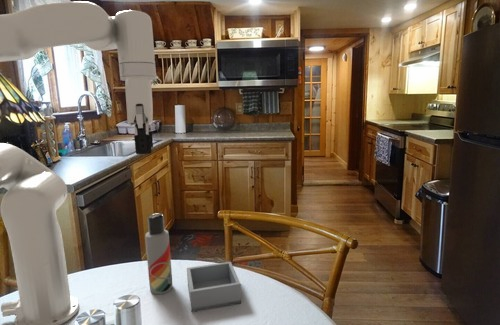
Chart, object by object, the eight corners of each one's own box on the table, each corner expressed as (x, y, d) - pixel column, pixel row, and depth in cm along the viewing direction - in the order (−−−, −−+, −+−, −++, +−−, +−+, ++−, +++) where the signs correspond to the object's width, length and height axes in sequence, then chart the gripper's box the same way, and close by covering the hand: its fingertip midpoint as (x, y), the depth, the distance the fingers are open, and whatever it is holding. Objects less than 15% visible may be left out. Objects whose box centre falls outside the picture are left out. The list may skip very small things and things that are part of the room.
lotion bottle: (166, 295, 83) (160, 218, 79) (145, 293, 84) (138, 217, 80) (176, 283, 88) (171, 211, 85) (156, 281, 90) (150, 210, 86)
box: (191, 312, 76) (190, 291, 75) (187, 285, 87) (186, 267, 86) (241, 303, 79) (240, 283, 78) (231, 278, 90) (230, 261, 89)
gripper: (124, 76, 80) (131, 147, 83) (114, 69, 64) (123, 157, 67) (156, 76, 82) (162, 145, 85) (154, 68, 65) (161, 155, 68)
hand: (145, 150), depth 76 cm, fingers open, 9 cm apart
